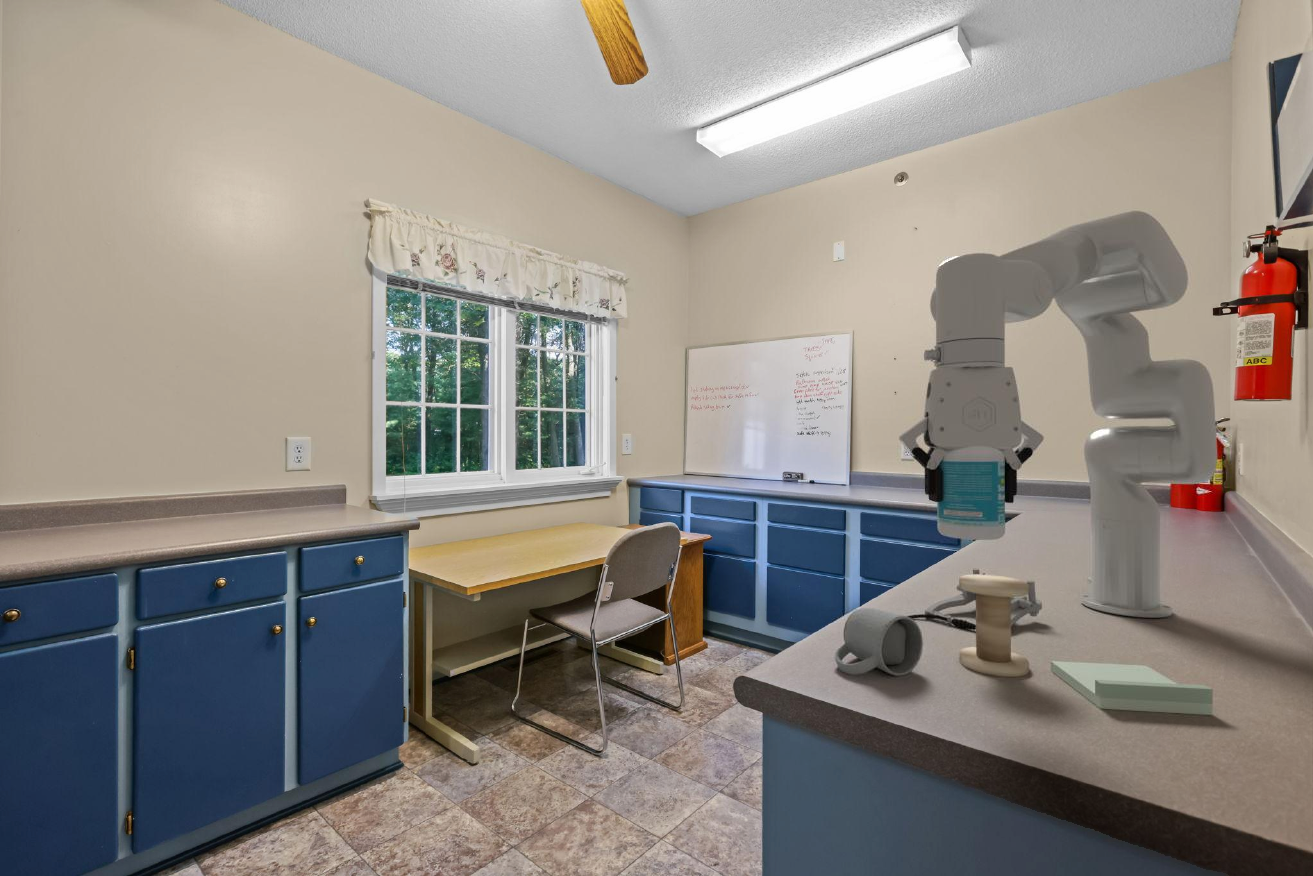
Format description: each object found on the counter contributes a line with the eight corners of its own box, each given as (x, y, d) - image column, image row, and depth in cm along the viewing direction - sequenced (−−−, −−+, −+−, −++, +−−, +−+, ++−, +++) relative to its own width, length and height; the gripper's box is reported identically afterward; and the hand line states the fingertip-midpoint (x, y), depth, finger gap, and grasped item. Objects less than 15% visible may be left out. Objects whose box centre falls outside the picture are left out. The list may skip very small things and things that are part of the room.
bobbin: (950, 652, 84) (950, 573, 84) (1012, 655, 83) (1012, 575, 83) (972, 675, 76) (971, 587, 76) (1040, 678, 75) (1040, 590, 75)
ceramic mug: (878, 651, 85) (877, 598, 85) (924, 670, 78) (923, 613, 78) (821, 664, 80) (820, 609, 80) (864, 686, 73) (863, 625, 73)
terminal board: (1050, 670, 77) (1050, 648, 77) (1145, 675, 76) (1145, 652, 76) (1100, 708, 67) (1100, 683, 67) (1212, 715, 65) (1212, 689, 65)
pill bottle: (1015, 542, 70) (1014, 426, 70) (946, 540, 71) (946, 426, 71) (992, 532, 77) (991, 427, 77) (930, 531, 79) (929, 427, 79)
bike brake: (971, 598, 109) (898, 634, 99) (968, 562, 108) (894, 594, 99) (1052, 620, 97) (977, 662, 87) (1049, 579, 96) (973, 617, 87)
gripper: (903, 355, 72) (904, 503, 72) (1062, 352, 70) (1062, 505, 70) (888, 363, 79) (888, 497, 79) (1031, 360, 77) (1031, 499, 77)
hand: (969, 500), depth 74 cm, fingers closed on pill bottle, 7 cm apart
